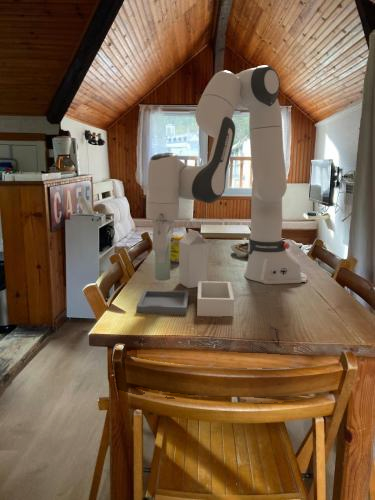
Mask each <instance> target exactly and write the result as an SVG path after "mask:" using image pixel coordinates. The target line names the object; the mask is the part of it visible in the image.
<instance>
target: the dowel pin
mask: <svg viewBox="0 0 375 500" xmlns="http://www.w3.org/2000/svg"><path fill="white" fill-rule="evenodd" d="M170 249H171V238H169V245H168V247H167V249H166V251H165V262H164V263H159V261H158V251H154V254H155V255H154V279H155V280H157V281H169V280H170V279H171V262H170Z"/></svg>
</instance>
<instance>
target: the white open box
mask: <svg viewBox="0 0 375 500" xmlns="http://www.w3.org/2000/svg"><path fill="white" fill-rule="evenodd" d="M234 306H235V297H234V293H233V288H232V283H231V281H214V280H213V281H211V280H209V281H208V280H207V281H198V287H197V306H196V307H197V308H196V309H197V311H196V314H197V317H222V316H234V314H235V310H234V309H235V307H234Z"/></svg>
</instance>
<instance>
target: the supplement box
mask: <svg viewBox="0 0 375 500" xmlns="http://www.w3.org/2000/svg"><path fill="white" fill-rule="evenodd" d="M184 236H185V235H178V234H172V238H171V249H170V264H171V263H172V264H178V265H179V241H180V240H181V239H182V238H183V237H184Z"/></svg>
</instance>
